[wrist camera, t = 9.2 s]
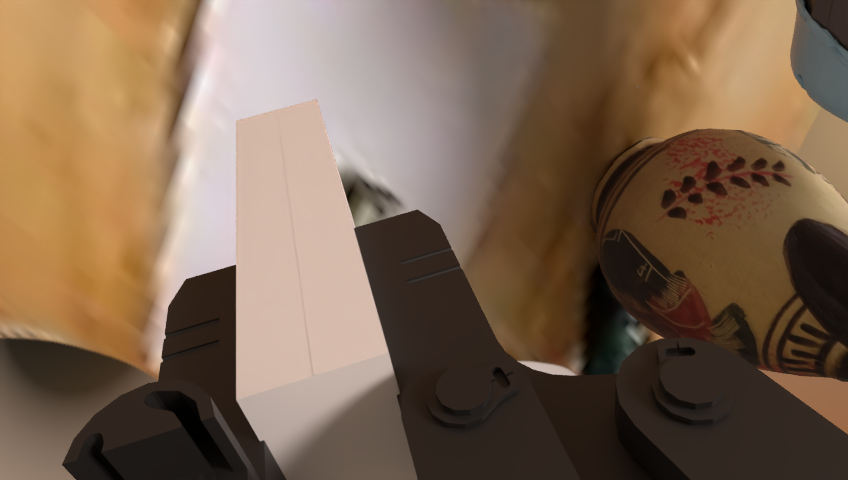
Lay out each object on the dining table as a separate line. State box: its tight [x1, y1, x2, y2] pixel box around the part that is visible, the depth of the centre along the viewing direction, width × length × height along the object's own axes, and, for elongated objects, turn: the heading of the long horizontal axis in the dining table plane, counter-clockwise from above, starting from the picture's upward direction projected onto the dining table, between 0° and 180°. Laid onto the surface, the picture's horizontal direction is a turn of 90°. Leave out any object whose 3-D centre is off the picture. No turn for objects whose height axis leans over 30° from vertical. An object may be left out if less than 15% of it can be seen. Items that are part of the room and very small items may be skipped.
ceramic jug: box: [590, 86, 848, 382], centre depth 37 cm, size 17×15×30 cm
